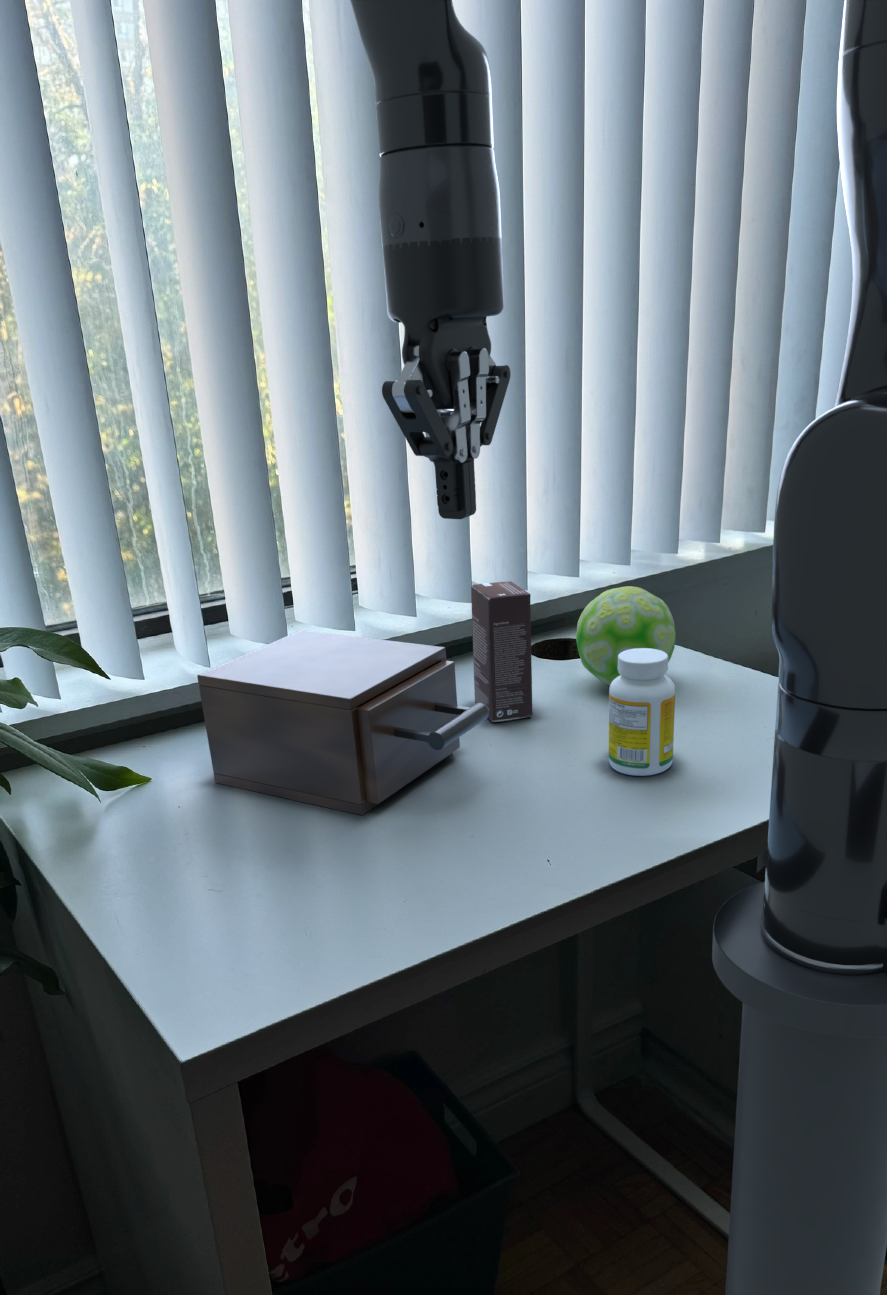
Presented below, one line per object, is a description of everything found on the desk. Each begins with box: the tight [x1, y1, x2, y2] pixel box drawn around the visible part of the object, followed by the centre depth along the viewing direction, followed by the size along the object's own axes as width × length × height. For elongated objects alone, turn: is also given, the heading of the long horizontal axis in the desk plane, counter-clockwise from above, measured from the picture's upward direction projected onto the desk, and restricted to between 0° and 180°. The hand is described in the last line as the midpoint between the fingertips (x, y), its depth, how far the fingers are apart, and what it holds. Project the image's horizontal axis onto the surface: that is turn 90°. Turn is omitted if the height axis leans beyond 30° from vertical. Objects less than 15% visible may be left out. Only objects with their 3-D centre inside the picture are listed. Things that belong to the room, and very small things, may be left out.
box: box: [470, 580, 533, 723], centre depth 102 cm, size 6×4×12 cm
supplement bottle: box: [608, 648, 676, 777], centre depth 89 cm, size 5×5×10 cm
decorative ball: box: [575, 585, 677, 686], centre depth 107 cm, size 10×10×10 cm
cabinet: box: [196, 629, 453, 816], centre depth 93 cm, size 16×14×10 cm
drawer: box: [357, 660, 489, 805], centre depth 90 cm, size 19×13×8 cm, turn 58°
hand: (457, 516), depth 75 cm, fingers closed
